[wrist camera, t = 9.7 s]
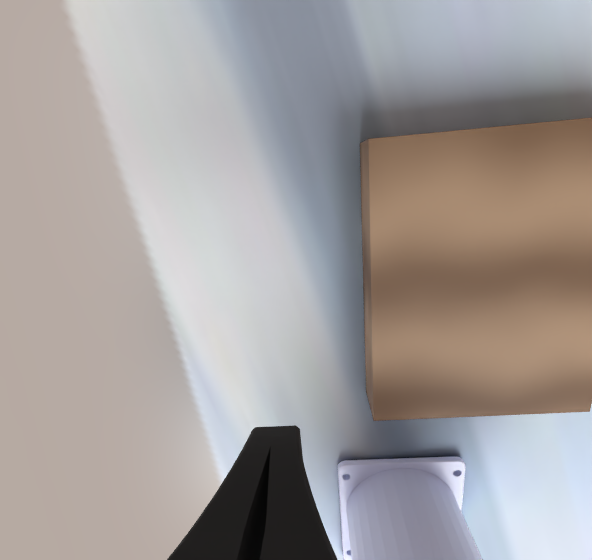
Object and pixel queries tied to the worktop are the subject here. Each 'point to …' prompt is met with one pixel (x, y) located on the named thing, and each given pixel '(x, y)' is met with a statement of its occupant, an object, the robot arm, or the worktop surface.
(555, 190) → the walnut board
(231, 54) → the worktop surface
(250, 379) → the worktop surface
